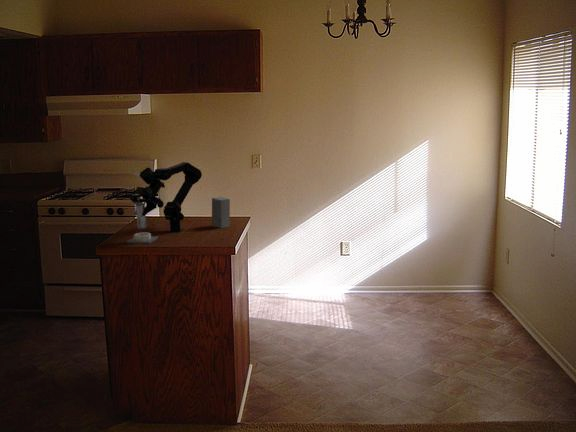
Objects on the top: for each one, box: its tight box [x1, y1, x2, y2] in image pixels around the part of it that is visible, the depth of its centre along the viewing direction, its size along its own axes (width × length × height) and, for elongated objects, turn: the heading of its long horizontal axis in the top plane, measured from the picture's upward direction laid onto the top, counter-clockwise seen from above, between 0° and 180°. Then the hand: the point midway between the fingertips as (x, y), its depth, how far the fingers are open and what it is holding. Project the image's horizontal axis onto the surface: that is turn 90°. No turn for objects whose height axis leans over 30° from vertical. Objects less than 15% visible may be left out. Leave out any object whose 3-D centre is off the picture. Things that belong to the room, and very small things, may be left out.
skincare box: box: [211, 196, 231, 229], centre depth 345 cm, size 8×7×16 cm
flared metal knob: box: [134, 201, 148, 229], centre depth 317 cm, size 5×5×13 cm
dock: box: [126, 232, 159, 244], centre depth 320 cm, size 11×12×3 cm
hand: (139, 215), depth 316 cm, fingers closed on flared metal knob, 4 cm apart
